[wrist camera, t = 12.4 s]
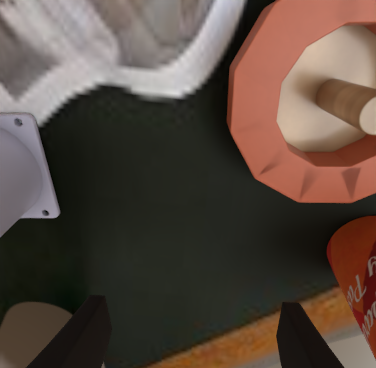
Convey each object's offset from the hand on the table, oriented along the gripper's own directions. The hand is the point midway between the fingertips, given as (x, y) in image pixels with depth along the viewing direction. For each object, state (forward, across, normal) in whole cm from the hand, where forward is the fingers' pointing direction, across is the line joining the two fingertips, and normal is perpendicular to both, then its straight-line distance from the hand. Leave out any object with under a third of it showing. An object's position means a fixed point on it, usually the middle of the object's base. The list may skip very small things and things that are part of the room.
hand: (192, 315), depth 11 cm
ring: (+10, -8, -7) cm, 14 cm away
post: (+11, -8, -7) cm, 15 cm away
